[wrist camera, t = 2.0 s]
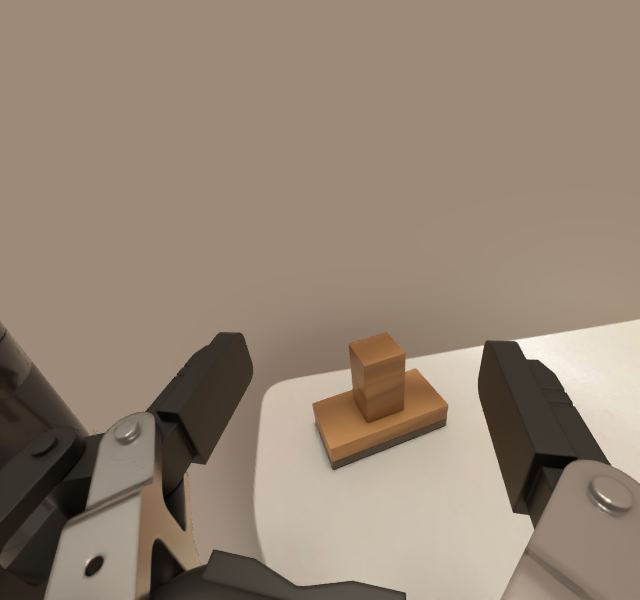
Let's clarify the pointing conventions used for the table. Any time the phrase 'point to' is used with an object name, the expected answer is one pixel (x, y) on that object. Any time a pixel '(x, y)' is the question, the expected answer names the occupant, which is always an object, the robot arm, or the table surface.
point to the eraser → (377, 404)
